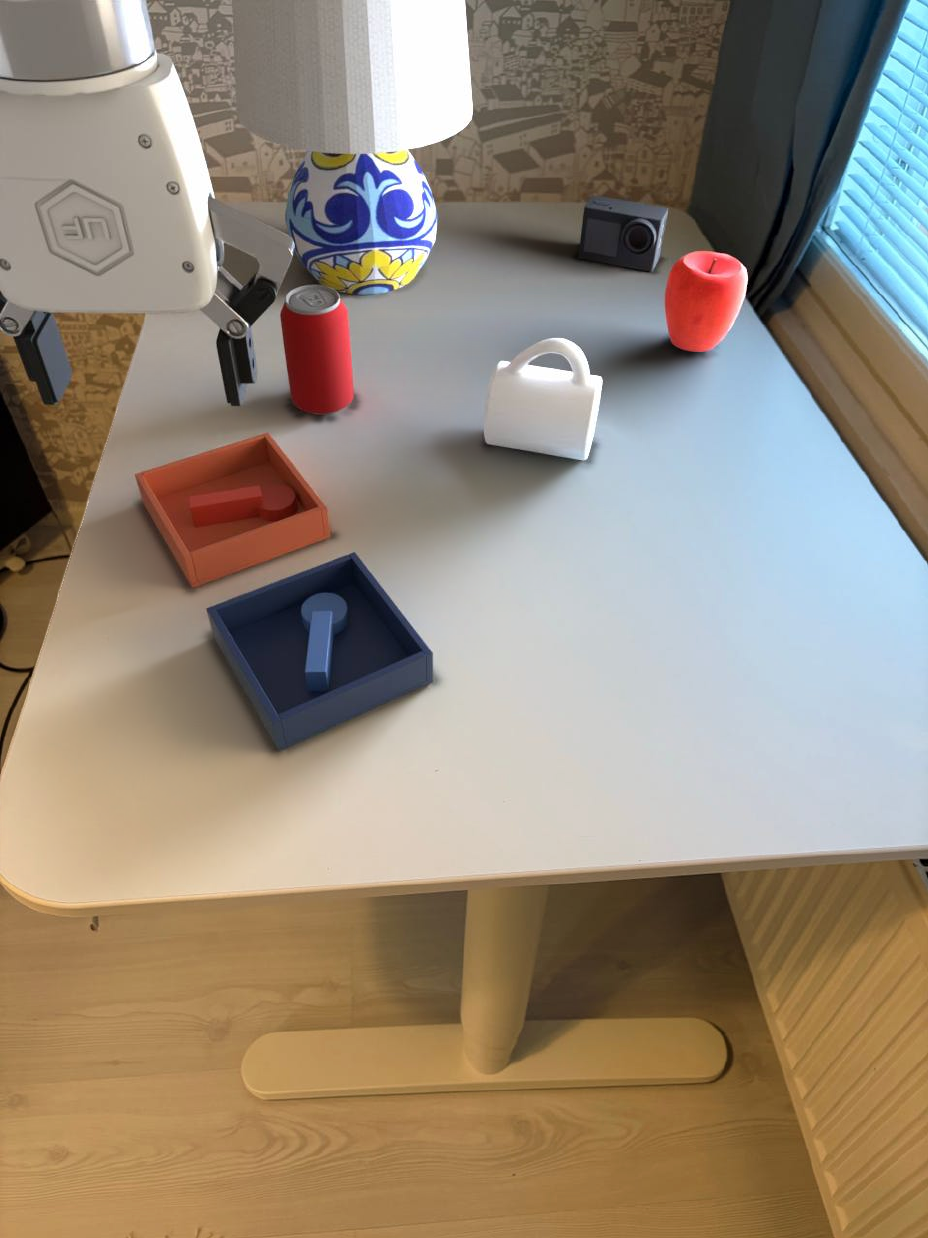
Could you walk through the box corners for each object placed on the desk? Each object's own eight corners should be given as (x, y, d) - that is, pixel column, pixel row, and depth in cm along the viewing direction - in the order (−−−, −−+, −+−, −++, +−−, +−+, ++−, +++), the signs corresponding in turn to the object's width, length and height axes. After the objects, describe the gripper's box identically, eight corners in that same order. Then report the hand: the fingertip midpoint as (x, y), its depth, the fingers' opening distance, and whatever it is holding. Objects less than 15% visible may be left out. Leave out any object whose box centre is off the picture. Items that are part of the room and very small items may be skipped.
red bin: (192, 588, 79) (184, 558, 76) (143, 503, 86) (134, 473, 84) (330, 537, 84) (327, 507, 81) (272, 460, 91) (268, 431, 89)
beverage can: (337, 378, 102) (328, 275, 93) (365, 408, 98) (358, 304, 89) (281, 394, 99) (266, 290, 90) (307, 426, 95) (294, 321, 87)
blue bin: (279, 752, 67) (273, 723, 65) (213, 637, 75) (205, 608, 72) (433, 681, 72) (433, 652, 70) (357, 580, 80) (354, 551, 77)
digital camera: (574, 261, 123) (580, 209, 117) (585, 245, 126) (591, 193, 121) (650, 276, 120) (660, 223, 115) (659, 258, 124) (668, 206, 119)
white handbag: (499, 414, 98) (506, 310, 89) (595, 430, 96) (611, 326, 87) (481, 459, 92) (487, 353, 83) (582, 477, 91) (598, 370, 82)
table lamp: (270, 331, 108) (209, -90, 79) (251, 232, 126) (197, -142, 97) (490, 310, 113) (511, -95, 84) (443, 217, 131) (446, -143, 102)
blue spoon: (342, 691, 71) (340, 671, 69) (293, 691, 71) (290, 672, 69) (349, 603, 77) (347, 583, 76) (304, 603, 77) (301, 583, 75)
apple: (675, 371, 104) (695, 281, 97) (642, 333, 110) (658, 245, 102) (743, 359, 107) (768, 270, 99) (707, 323, 112) (727, 236, 104)
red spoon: (196, 535, 83) (190, 515, 81) (192, 509, 85) (187, 489, 83) (300, 517, 85) (297, 497, 83) (293, 492, 87) (290, 472, 85)
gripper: (-207, 50, 34) (-37, 431, 47) (258, 60, 35) (303, 433, 47) (-125, -3, 39) (9, 353, 52) (279, 7, 40) (315, 356, 52)
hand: (149, 391), depth 50 cm, fingers open, 9 cm apart
